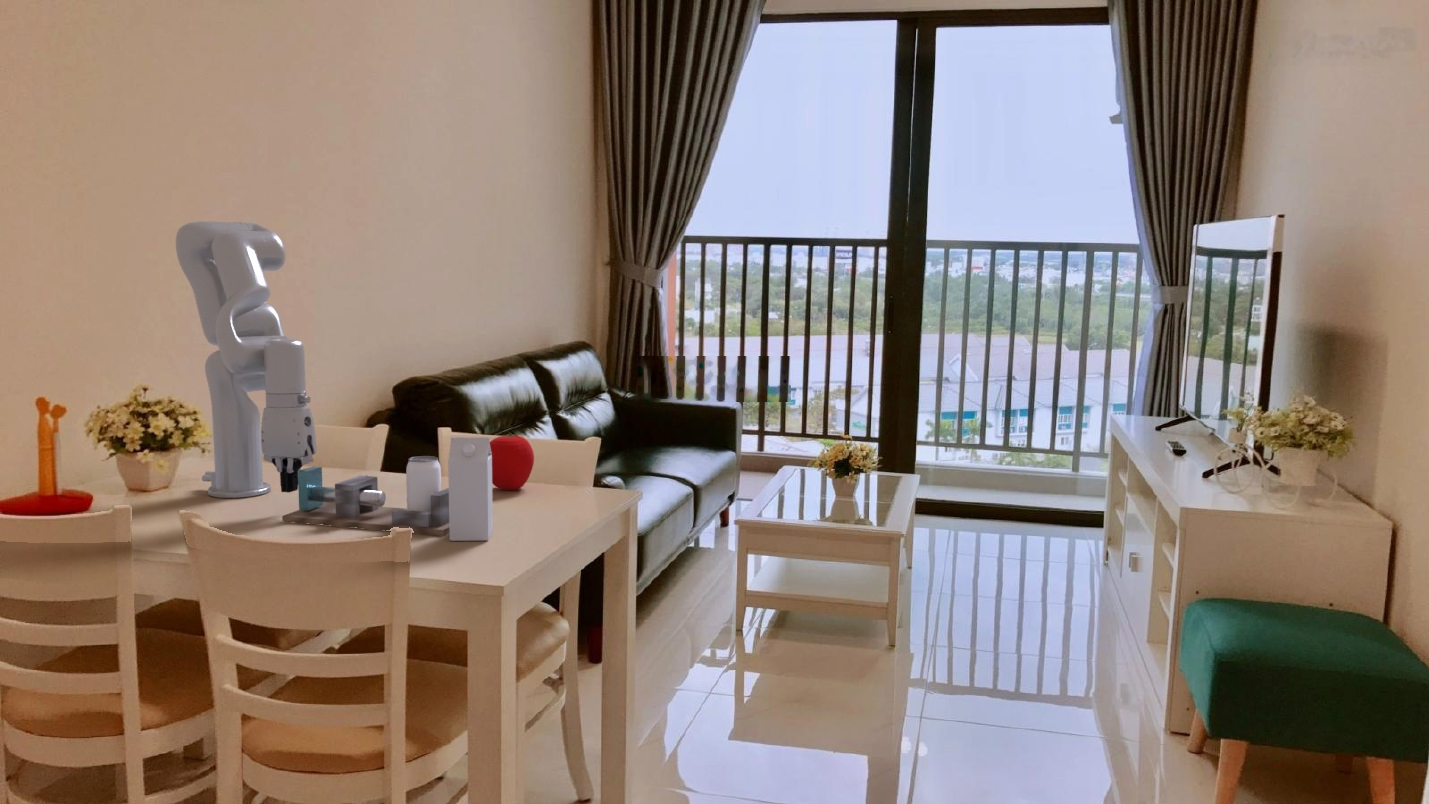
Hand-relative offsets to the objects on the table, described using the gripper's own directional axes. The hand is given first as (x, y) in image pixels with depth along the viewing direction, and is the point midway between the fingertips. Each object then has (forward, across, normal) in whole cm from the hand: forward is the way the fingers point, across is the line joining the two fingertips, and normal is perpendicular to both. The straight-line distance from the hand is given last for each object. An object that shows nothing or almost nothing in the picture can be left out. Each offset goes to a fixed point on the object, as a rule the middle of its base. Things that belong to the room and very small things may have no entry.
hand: (289, 490), depth 221 cm
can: (+4, -30, 0) cm, 30 cm away
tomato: (+5, -32, -35) cm, 48 cm away
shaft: (+3, -12, 0) cm, 13 cm away
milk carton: (+5, -43, +5) cm, 43 cm away
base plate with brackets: (+5, -20, 0) cm, 21 cm away
